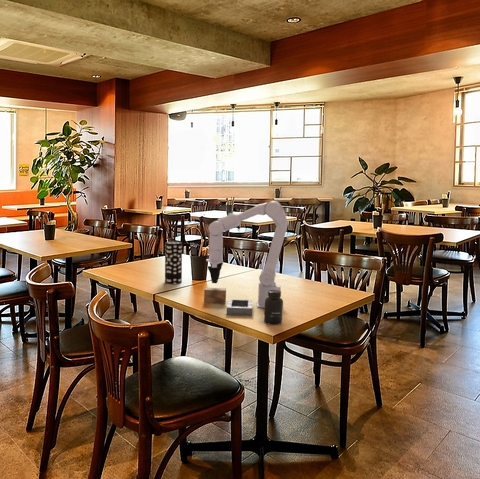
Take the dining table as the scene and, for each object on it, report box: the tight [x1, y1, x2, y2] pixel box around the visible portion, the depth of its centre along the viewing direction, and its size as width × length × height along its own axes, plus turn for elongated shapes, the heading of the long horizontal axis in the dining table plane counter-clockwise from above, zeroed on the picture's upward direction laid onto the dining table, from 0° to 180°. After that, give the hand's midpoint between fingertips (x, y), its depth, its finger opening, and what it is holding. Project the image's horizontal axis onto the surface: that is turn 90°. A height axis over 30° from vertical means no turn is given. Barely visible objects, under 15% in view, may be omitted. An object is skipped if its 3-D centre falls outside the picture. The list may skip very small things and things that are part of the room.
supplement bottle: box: [263, 290, 284, 326], centre depth 174 cm, size 7×7×12 cm
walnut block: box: [203, 287, 227, 305], centre depth 199 cm, size 9×4×6 cm, turn 88°
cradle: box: [226, 298, 253, 317], centre depth 188 cm, size 10×12×3 cm
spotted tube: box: [164, 241, 183, 285], centre depth 232 cm, size 8×8×20 cm
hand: (215, 281), depth 198 cm, fingers open, 7 cm apart
